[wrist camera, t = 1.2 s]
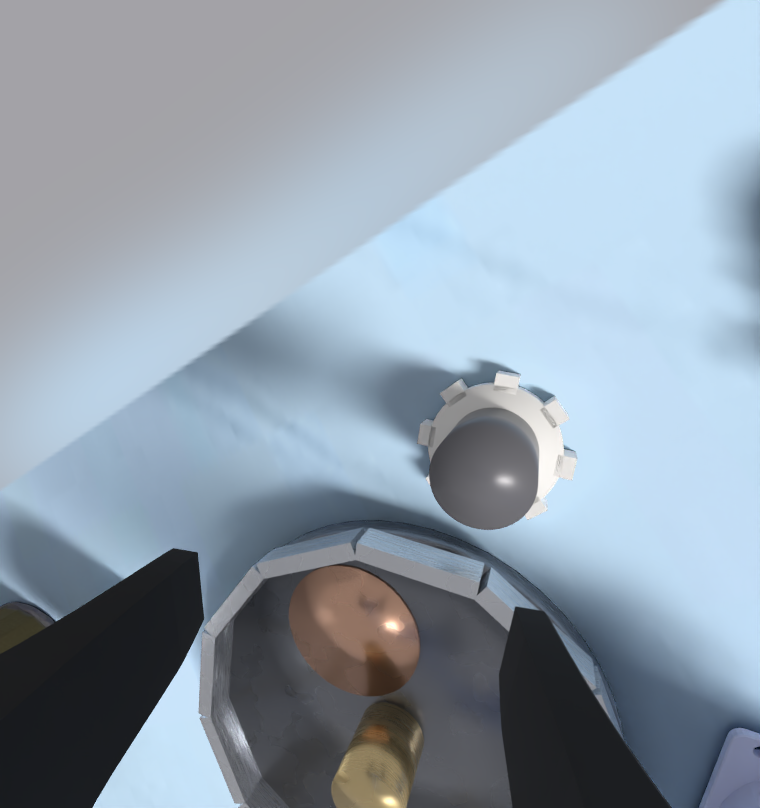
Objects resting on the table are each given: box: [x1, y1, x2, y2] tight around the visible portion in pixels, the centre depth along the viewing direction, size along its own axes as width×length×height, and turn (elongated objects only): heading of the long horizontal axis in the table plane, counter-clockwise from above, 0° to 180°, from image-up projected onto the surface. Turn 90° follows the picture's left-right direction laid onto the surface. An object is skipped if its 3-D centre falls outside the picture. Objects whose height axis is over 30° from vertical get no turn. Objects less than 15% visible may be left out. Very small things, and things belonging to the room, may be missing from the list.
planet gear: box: [417, 371, 577, 530], centre depth 17 cm, size 6×6×4 cm
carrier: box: [199, 520, 624, 808], centre depth 21 cm, size 21×21×5 cm
